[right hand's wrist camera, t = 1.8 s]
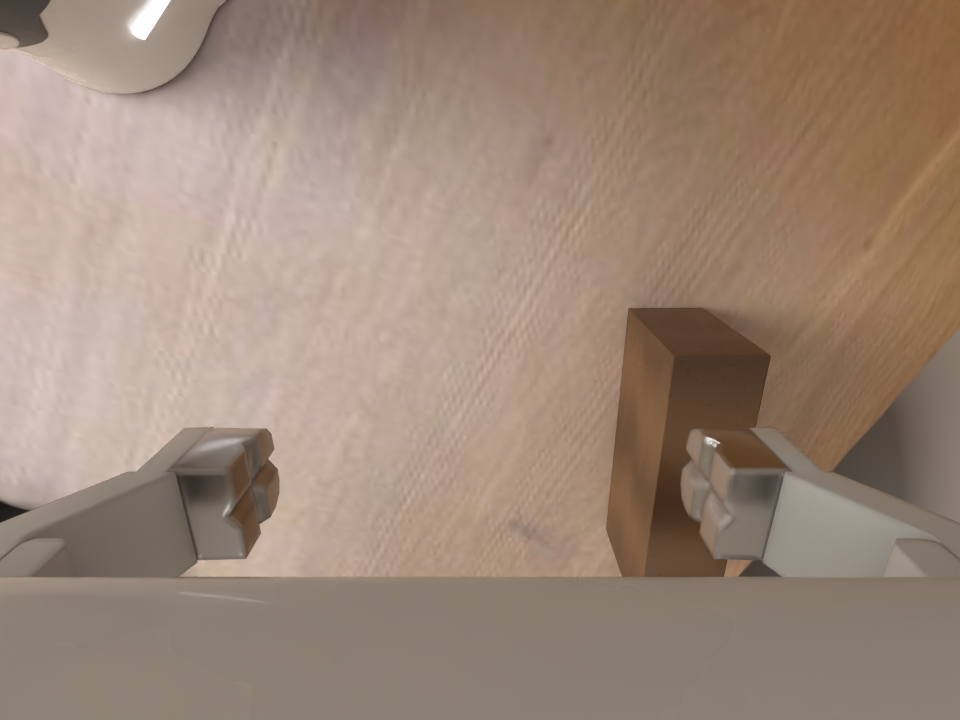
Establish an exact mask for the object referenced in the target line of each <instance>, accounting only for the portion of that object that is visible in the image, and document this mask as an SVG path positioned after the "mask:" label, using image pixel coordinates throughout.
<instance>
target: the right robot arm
mask: <svg viewBox="0 0 960 720" xmlns="http://www.w3.org/2000/svg"><path fill="white" fill-rule="evenodd" d="M226 1H227V0H0V49H9V50H12V51H14V52H17V53H20V54H22V55H24V56H27V57H29V58H31V59H34V60H36V61H38V62H40V63H42V64H44V65H46V66H47V67H49V68H50V69H52V70H53V71H55V72H56V73H58V74H60V75H61V76H63V77H65V78H66V79H68V80H70V81H72V82H74V83H77V84H79V85H81V86H84V87H87V88H90V89H93V90H97V91H101V92H107V93H115V94H132V93H139V92H144V91H148V90H151V89H154V88H156V87H159V86H161V85H163V84H165V83H167V82H168V81H170V80H171V79H173V78H174V77H175V76H177V75H178V74H179V73H180V72H181V71H182V70H183V69H184V68H185V67H186V66H187V65H188V64H189V63H190V62H191V60H192V59H193V58H194V56H195V55H196V53H197V51H198V50H199V48H200V46H201V44H202V42H203V40H204V38H205V35H206V33H207V30H208V28H209V25H210V23H211V20H212V18H213V16H214V14H215V12H216V11H217V9H218V8H219V7H220V6H221V5H222V4H223V3H225V2H226ZM273 450H274V445H273V440H272V435H271V433H270V432H269V431H268V430H267V429H266V428H214V427H195V428H184V429H183V430H182V431H181V432H180V433H178V434H177V435H176V436H175V437H174V438H173V439H172V440H171V441H170V442H169V443H167V444H166V445H165V446H164V447H163V448H162V449H161V450H160V451H159V452H158V453H156V454H155V455H154V456H153V457H152V458H151V459H150V460H149V461H148V462H147V463H145V464H144V465H143V466H142V467H141V468H140V469H139V470H138V471H137V472H126V473H123V474H121V475H118V476H116V477H113V478H111V479H108V480H106V481H103V482H101V483H98V484H96V485H93V486H91V487H88V488H86V489H83V490H81V491H78V492H76V493H73V494H71V495H68V496H66V497H63V498H61V499H58V500H56V501H54V502H51V503H49V504H46V505H44V506H41V507H39V508H36V509H34V510H31V511H29V512H26V513H24V514H21V515H19V516H16V517H14V518H11V519H9V520H6V521H4V522H1V523H0V720H960V523H959V522H956V521H954V520H951V519H949V518H946V517H944V516H941V515H939V514H936V513H934V512H931V511H929V510H926V509H924V508H921V507H919V506H916V505H914V504H911V503H909V502H906V501H904V500H901V499H899V498H896V497H894V496H891V495H889V494H886V493H884V492H881V491H879V490H876V489H874V488H871V487H869V486H866V485H864V484H862V483H859V482H857V481H854V480H852V479H849V478H847V477H844V476H842V475H839V474H837V473H834V472H823V471H822V470H821V469H820V468H819V467H818V466H817V465H816V464H815V463H814V462H812V461H811V460H810V459H809V458H808V457H807V456H806V455H805V454H804V453H803V452H801V451H800V450H799V449H798V448H797V447H796V446H795V445H794V444H793V443H792V442H791V441H789V440H788V439H787V438H786V437H785V436H784V435H783V434H782V433H781V432H780V431H778V430H777V429H775V428H772V427H756V428H748V427H746V428H704V429H693V430H691V432H690V434H689V436H688V439H687V444H686V450H687V452H688V454H689V455H690V457H691V458H692V460H691V461H690V462H689V463H688V464H687V465H686V466H685V467H684V468H683V469H682V476H681V484H680V485H681V496H682V501H683V504H684V507H685V509H686V511H687V513H688V515H689V517H690V518H692V519H694V520H695V521H697V522H698V523H700V524H701V526H700V531H699V534H700V536H701V537H702V539H703V541H704V542H705V544H706V546H707V547H708V549H709V551H710V553H711V554H712V556H713V558H714V559H737V560H763V563H764V564H765V565H767V566H768V567H769V568H771V569H772V570H774V571H775V572H776V573H778V574H779V575H780V576H782V577H179V576H180V575H181V574H183V573H184V572H185V571H187V570H188V569H189V568H191V567H192V566H193V565H195V564H196V563H197V560H222V559H246V558H247V556H248V554H249V553H250V551H251V549H252V548H253V546H254V544H255V542H256V541H257V539H258V537H259V536H260V534H261V531H260V526H259V524H260V523H262V522H263V521H265V520H267V519H268V518H270V517H271V515H272V513H273V511H274V509H275V507H276V504H277V500H278V495H279V475H278V469H277V468H276V467H275V466H274V465H273V464H272V463H271V462H270V461H269V460H268V458H269V457H270V455H271V454H272V452H273Z"/></svg>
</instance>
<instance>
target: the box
mask: <svg viewBox="0 0 960 720" xmlns="http://www.w3.org/2000/svg"><path fill="white" fill-rule="evenodd" d="M769 361H770V355H769V354H768V353H766V352H765V351H763V350H762V349H761V348H759V347H758V346H756V345H755V344H753V343H752V342H751V341H749V340H748V339H746V338H745V337H743V336H742V335H740V334H739V333H738V332H736V331H735V330H733V329H732V328H730V327H729V326H727V325H726V324H725V323H723V322H722V321H720V320H719V319H717V318H716V317H715V316H713V315H712V314H710V313H709V312H707V311H706V310H704V309H703V308H632V309H629V310H628V320H627V329H626V339H625V349H624V359H623V369H622V379H621V389H620V399H619V408H618V418H617V428H616V438H615V448H614V458H613V468H612V478H611V487H610V497H609V507H608V517H607V527H606V530H607V533H608V536H609V539H610V542H611V545H612V548H613V551H614V554H615V557H616V560H617V563H618V566H619V569H620V572H621V575H622V577H724V573H725V568H726V564H727V559H714V558H713V556H712V554H711V553H710V551H709V549H708V547H707V546H706V544H705V542H704V541H703V539H702V537H701V536H700V534H699V531H700V526H701V524H700V523H698V522H697V521H695V520H694V519H692V518H690V517H689V515H688V513H687V511H686V509H685V507H684V504H683V501H682V496H681V485H680V484H681V476H682V469H683V468H684V467H685V466H686V465H687V464H688V463H689V462H690V461H691V460H692V458H691V457H690V455H689V454H688V452H687V450H686V444H687V439H688V436H689V434H690V432H691V430H693V429H704V428H746V427H748V428H755V427H756V422H757V418H758V413H759V408H760V404H761V399H762V394H763V389H764V385H765V380H766V375H767V371H768V366H769Z"/></svg>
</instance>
